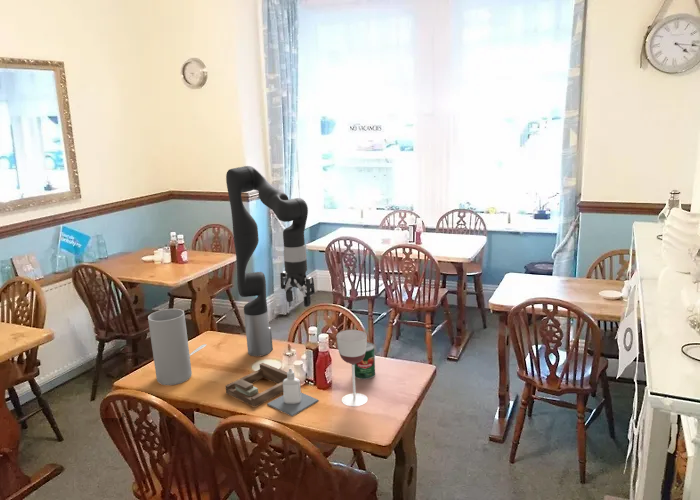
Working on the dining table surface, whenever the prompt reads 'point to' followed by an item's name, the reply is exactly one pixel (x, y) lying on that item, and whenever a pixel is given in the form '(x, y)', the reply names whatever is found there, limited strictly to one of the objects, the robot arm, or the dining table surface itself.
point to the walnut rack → (263, 372)
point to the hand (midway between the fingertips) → (298, 303)
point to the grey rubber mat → (293, 408)
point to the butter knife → (198, 349)
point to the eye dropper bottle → (291, 388)
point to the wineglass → (352, 359)
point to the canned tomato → (366, 364)
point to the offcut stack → (246, 388)
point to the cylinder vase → (170, 346)
